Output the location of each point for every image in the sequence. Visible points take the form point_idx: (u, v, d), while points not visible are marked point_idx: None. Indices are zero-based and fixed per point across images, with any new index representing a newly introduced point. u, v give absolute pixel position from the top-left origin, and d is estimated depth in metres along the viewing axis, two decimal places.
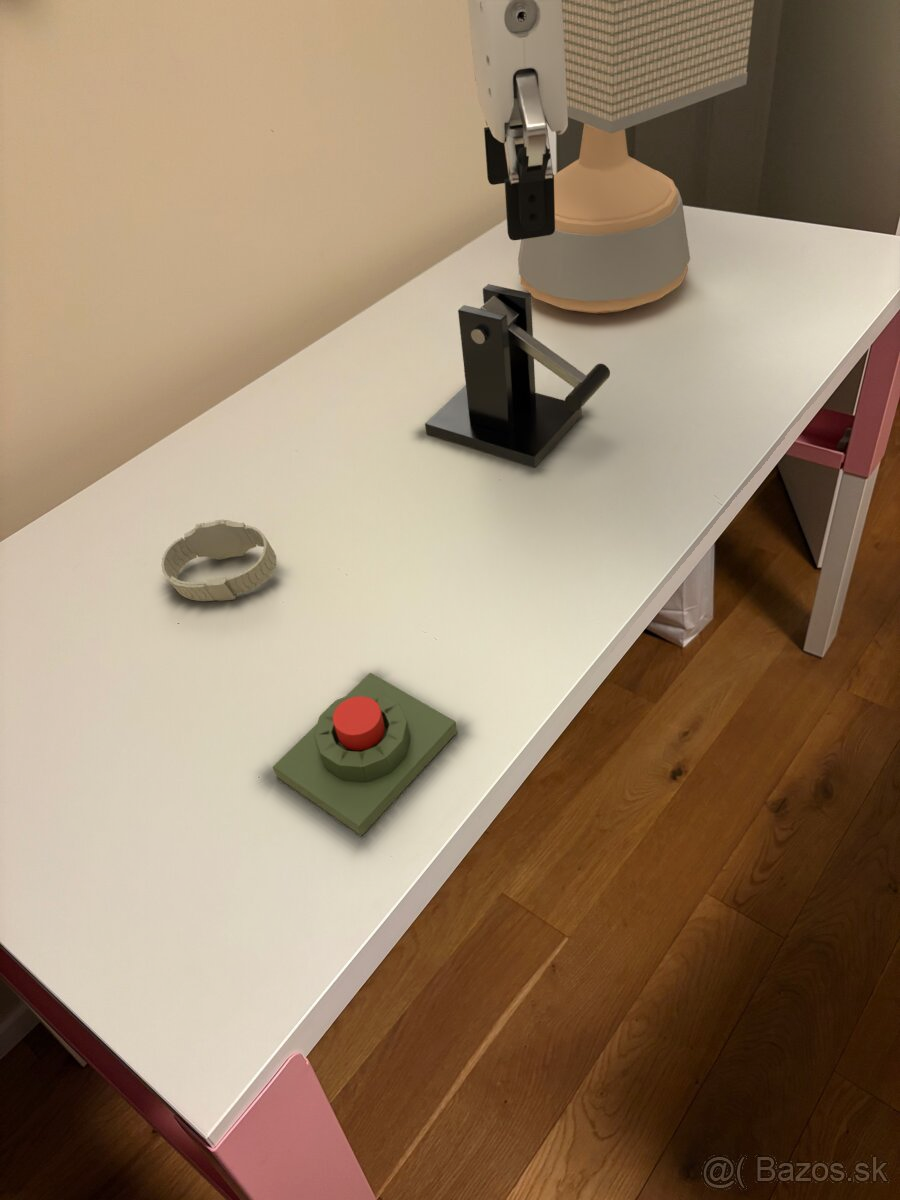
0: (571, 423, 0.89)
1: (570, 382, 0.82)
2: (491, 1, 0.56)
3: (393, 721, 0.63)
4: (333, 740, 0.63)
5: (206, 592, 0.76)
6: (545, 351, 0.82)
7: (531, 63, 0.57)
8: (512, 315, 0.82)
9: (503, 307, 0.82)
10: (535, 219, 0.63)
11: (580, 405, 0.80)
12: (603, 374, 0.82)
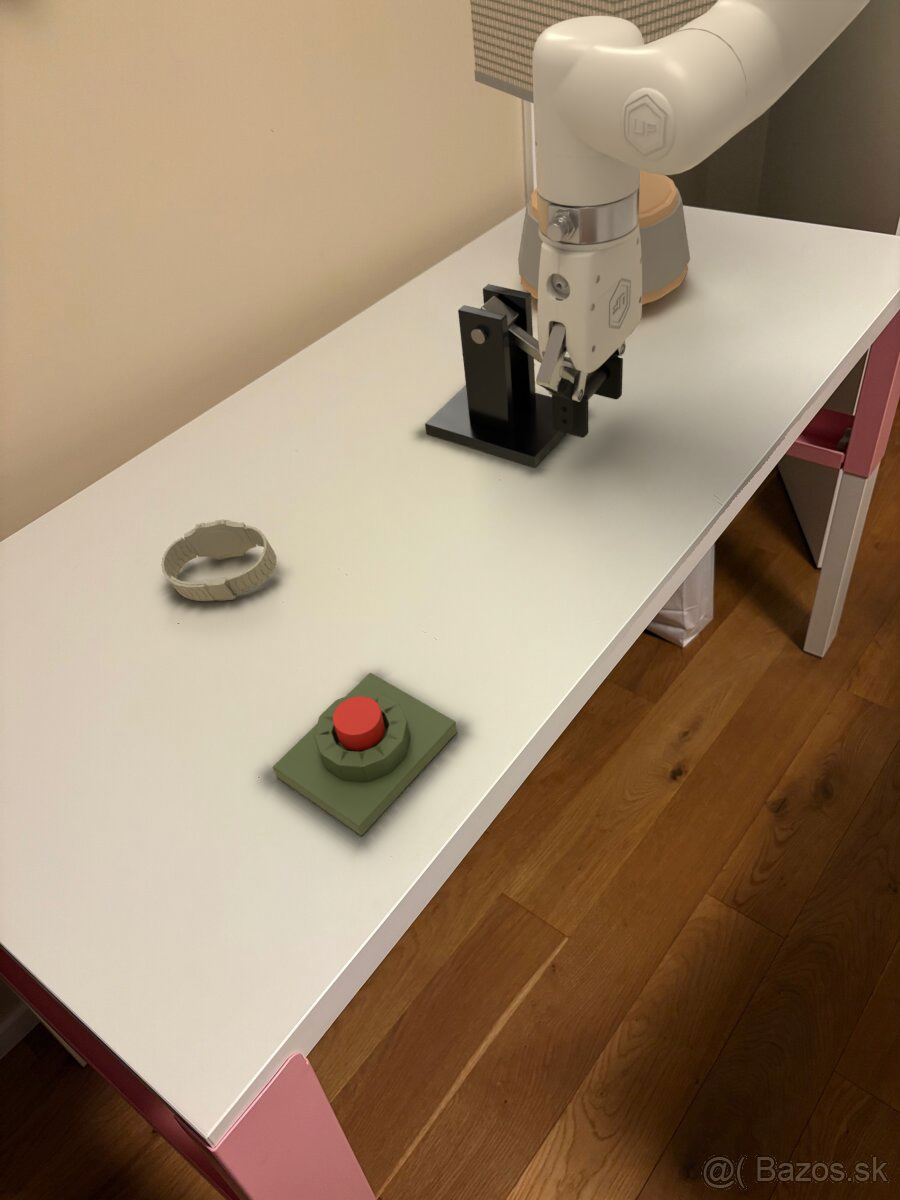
0: None
1: None
2: (540, 269, 0.72)
3: (393, 721, 0.63)
4: (333, 740, 0.63)
5: (206, 592, 0.76)
6: None
7: (561, 320, 0.73)
8: (512, 315, 0.82)
9: (503, 307, 0.82)
10: (566, 423, 0.81)
11: None
12: (603, 374, 0.82)
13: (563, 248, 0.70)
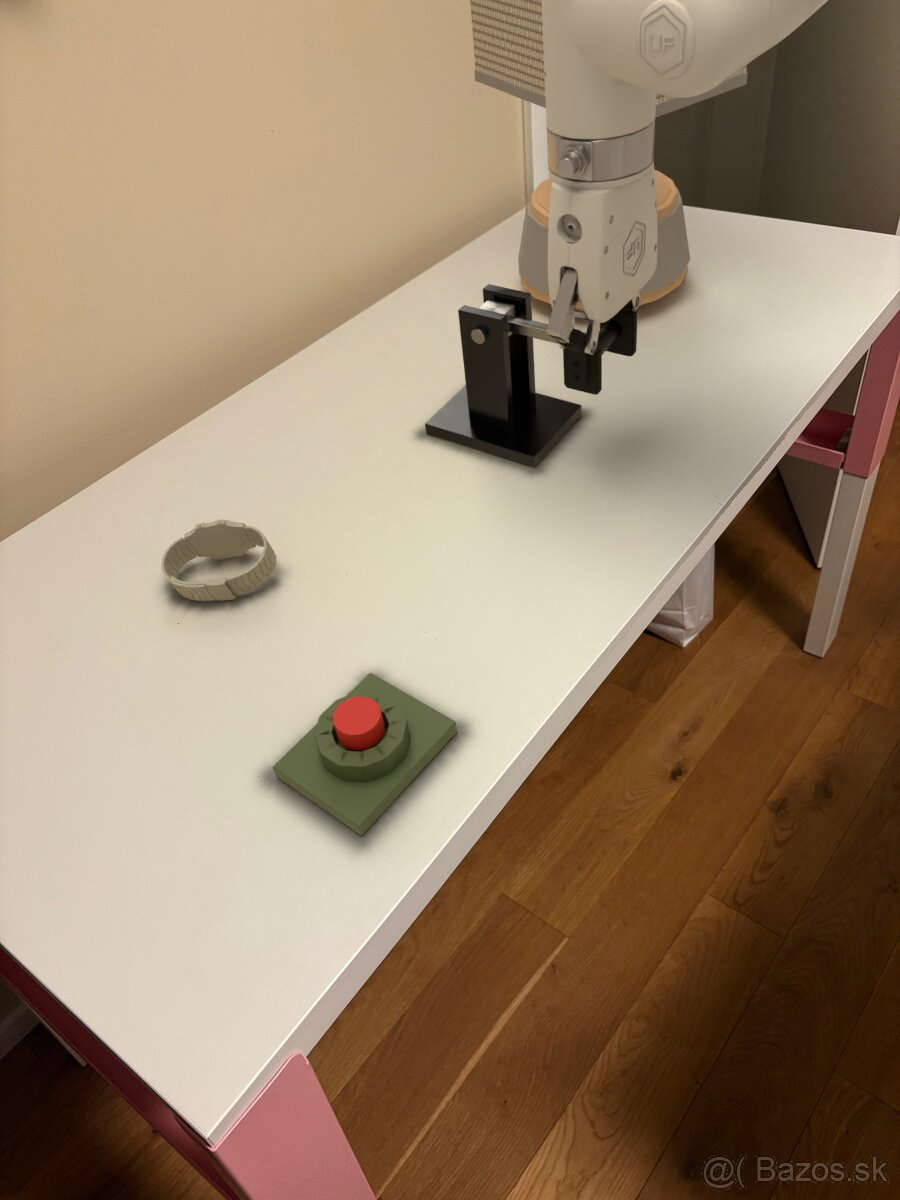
0: (571, 423, 0.89)
1: None
2: (550, 210, 0.68)
3: (393, 721, 0.63)
4: (333, 740, 0.63)
5: (206, 592, 0.76)
6: None
7: (573, 264, 0.69)
8: (508, 308, 0.82)
9: (498, 304, 0.82)
10: (578, 379, 0.77)
11: None
12: (612, 328, 0.79)
13: (575, 186, 0.66)
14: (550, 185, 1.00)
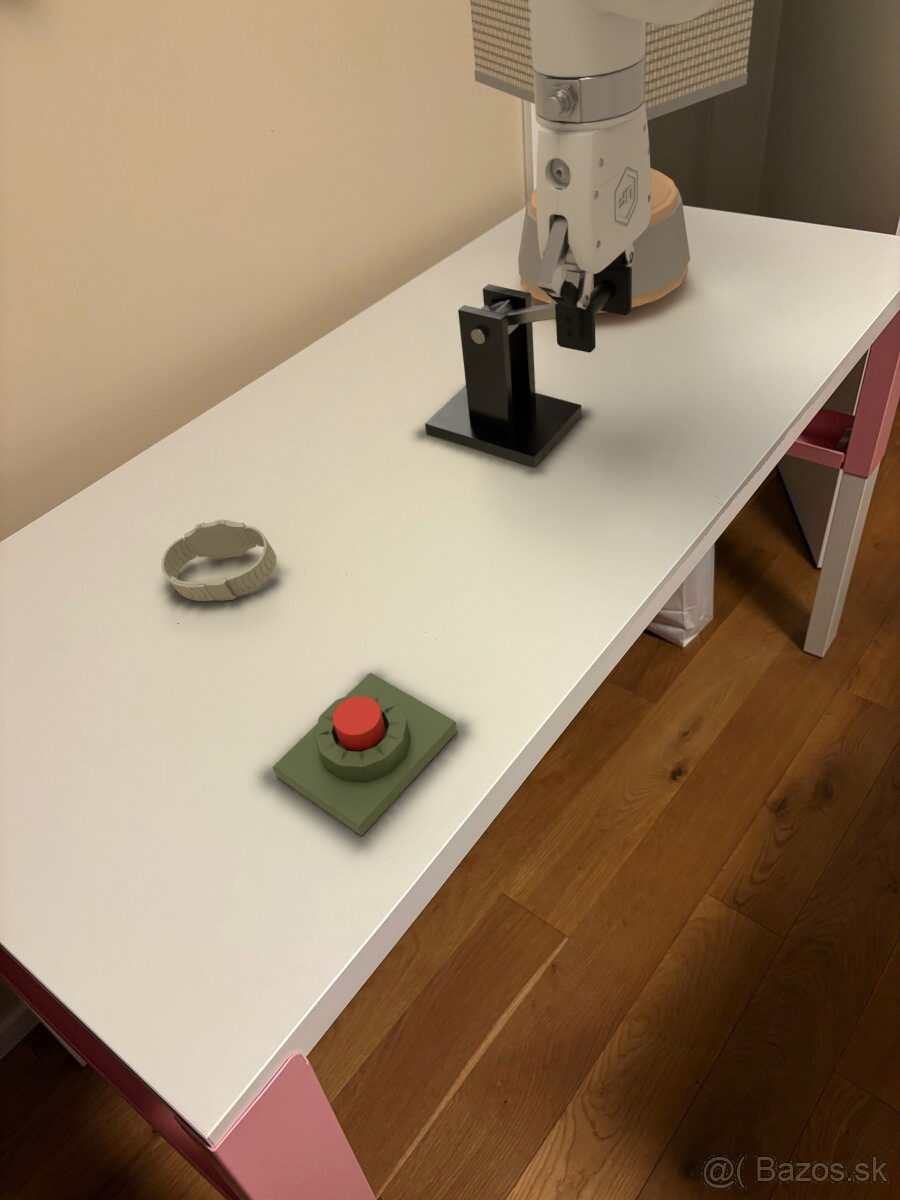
0: (571, 423, 0.89)
1: None
2: (538, 156, 0.66)
3: (393, 721, 0.63)
4: (333, 740, 0.63)
5: (206, 592, 0.76)
6: (541, 307, 0.79)
7: (563, 212, 0.67)
8: (503, 303, 0.82)
9: (494, 304, 0.83)
10: (571, 336, 0.74)
11: None
12: (603, 286, 0.77)
13: (562, 129, 0.64)
14: None
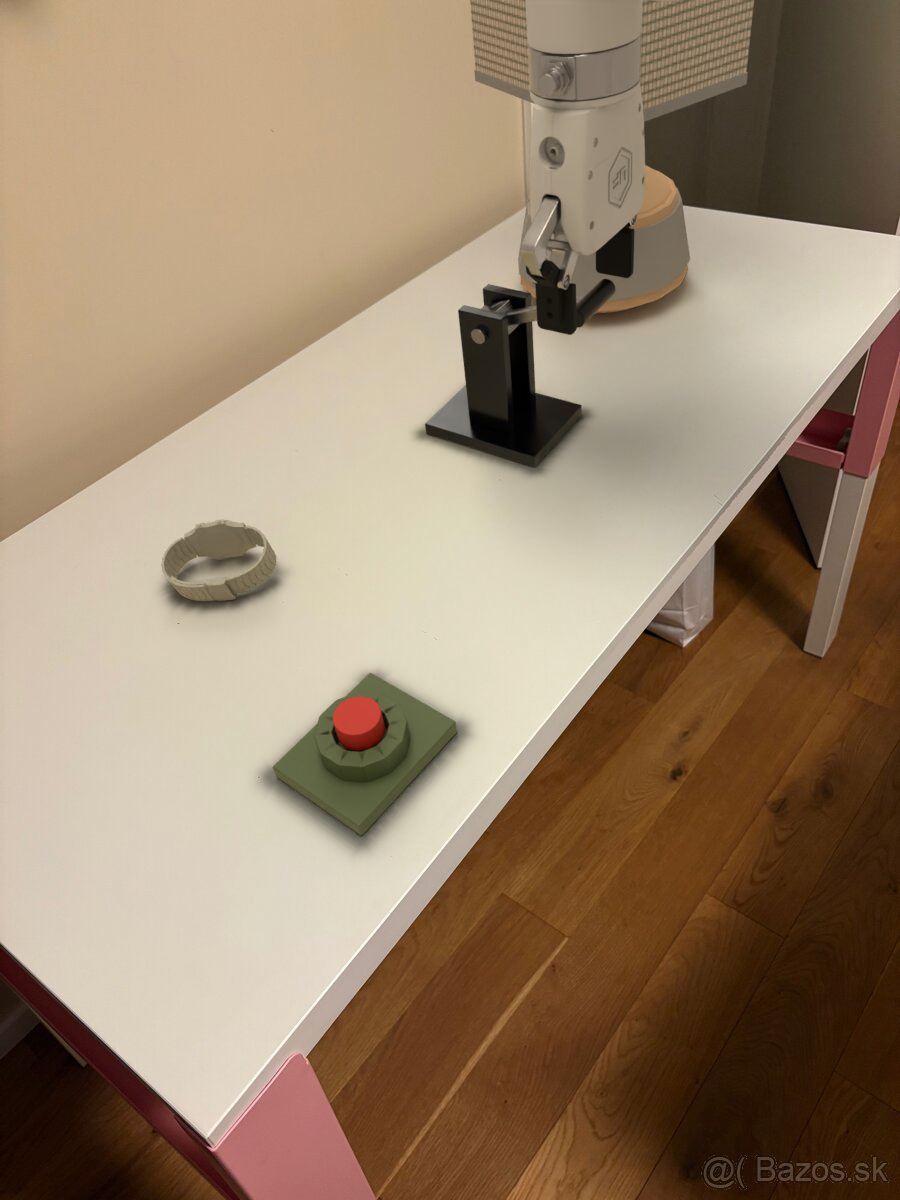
0: (571, 423, 0.89)
1: None
2: (532, 134, 0.65)
3: (393, 721, 0.63)
4: (333, 740, 0.63)
5: (206, 592, 0.76)
6: None
7: (556, 192, 0.66)
8: (502, 303, 0.82)
9: (494, 304, 0.83)
10: (552, 318, 0.72)
11: (581, 313, 0.74)
12: (602, 284, 0.77)
13: (557, 107, 0.63)
14: None
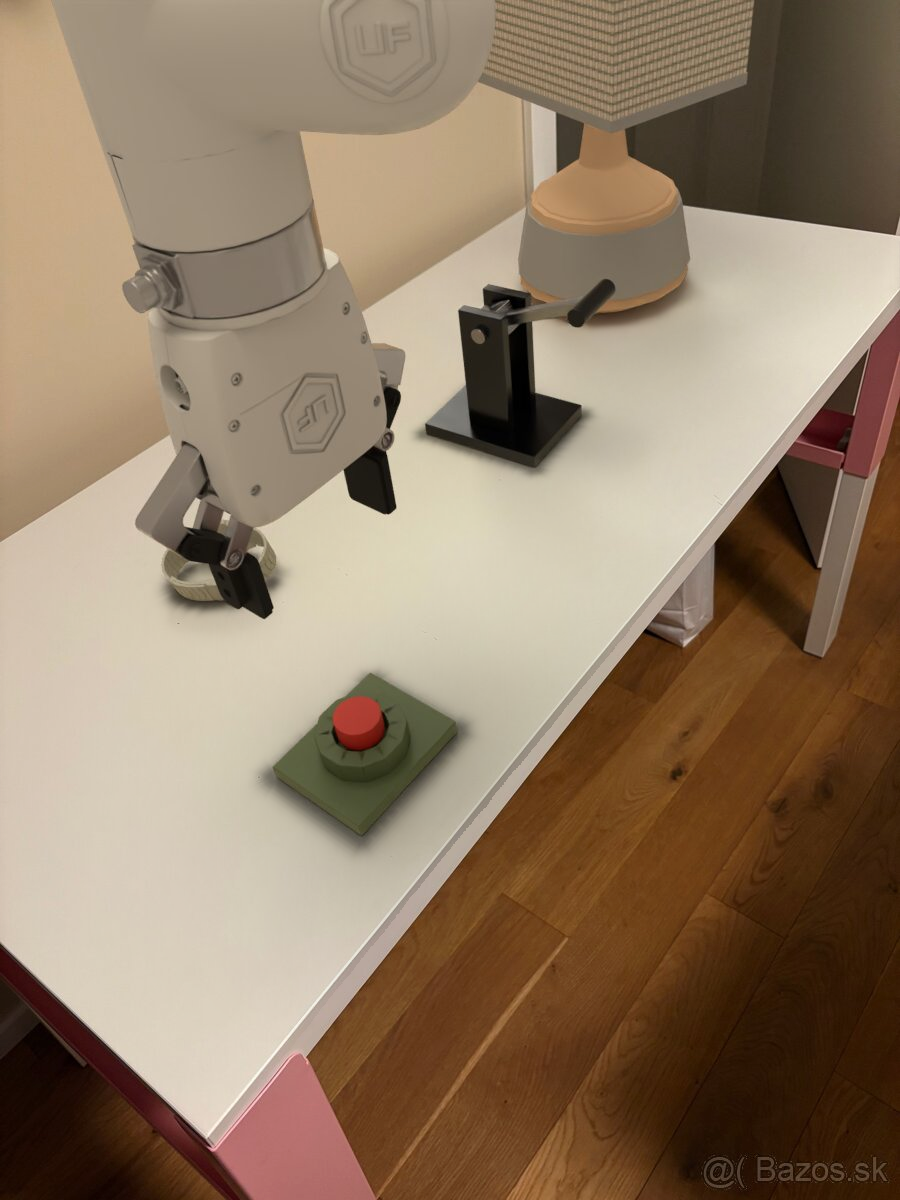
0: (571, 423, 0.89)
1: None
2: (152, 354, 0.41)
3: (393, 721, 0.63)
4: (333, 740, 0.63)
5: (206, 592, 0.76)
6: (541, 306, 0.79)
7: (193, 441, 0.42)
8: (502, 303, 0.82)
9: (494, 304, 0.83)
10: (231, 597, 0.48)
11: (581, 313, 0.74)
12: (602, 284, 0.77)
13: (174, 322, 0.39)
14: (550, 185, 1.00)
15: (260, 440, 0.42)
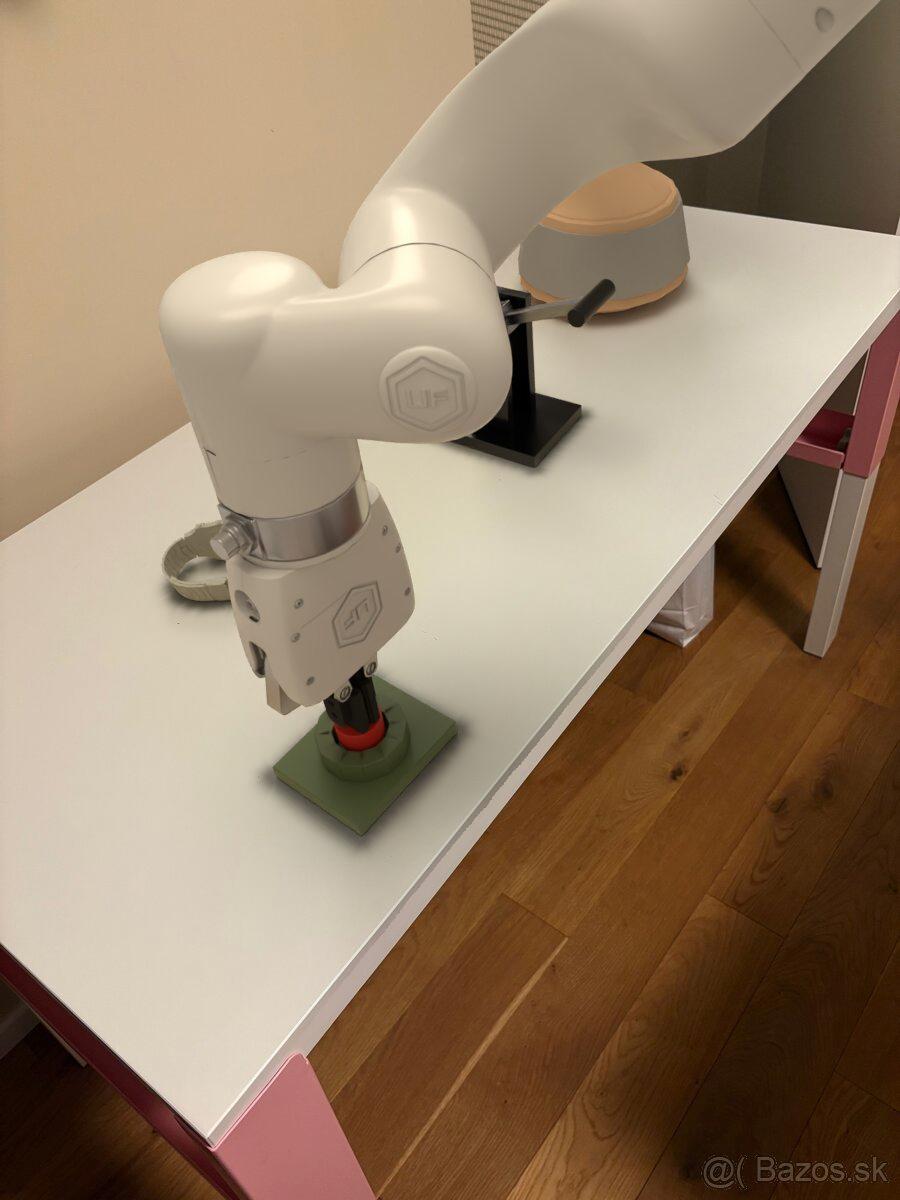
0: (571, 423, 0.89)
1: None
2: (227, 577, 0.50)
3: (393, 721, 0.63)
4: (333, 740, 0.63)
5: (206, 592, 0.76)
6: (541, 306, 0.79)
7: (260, 644, 0.51)
8: (502, 303, 0.82)
9: None
10: (337, 718, 0.60)
11: (581, 313, 0.74)
12: (602, 284, 0.77)
13: (248, 559, 0.48)
14: None
15: (315, 644, 0.51)
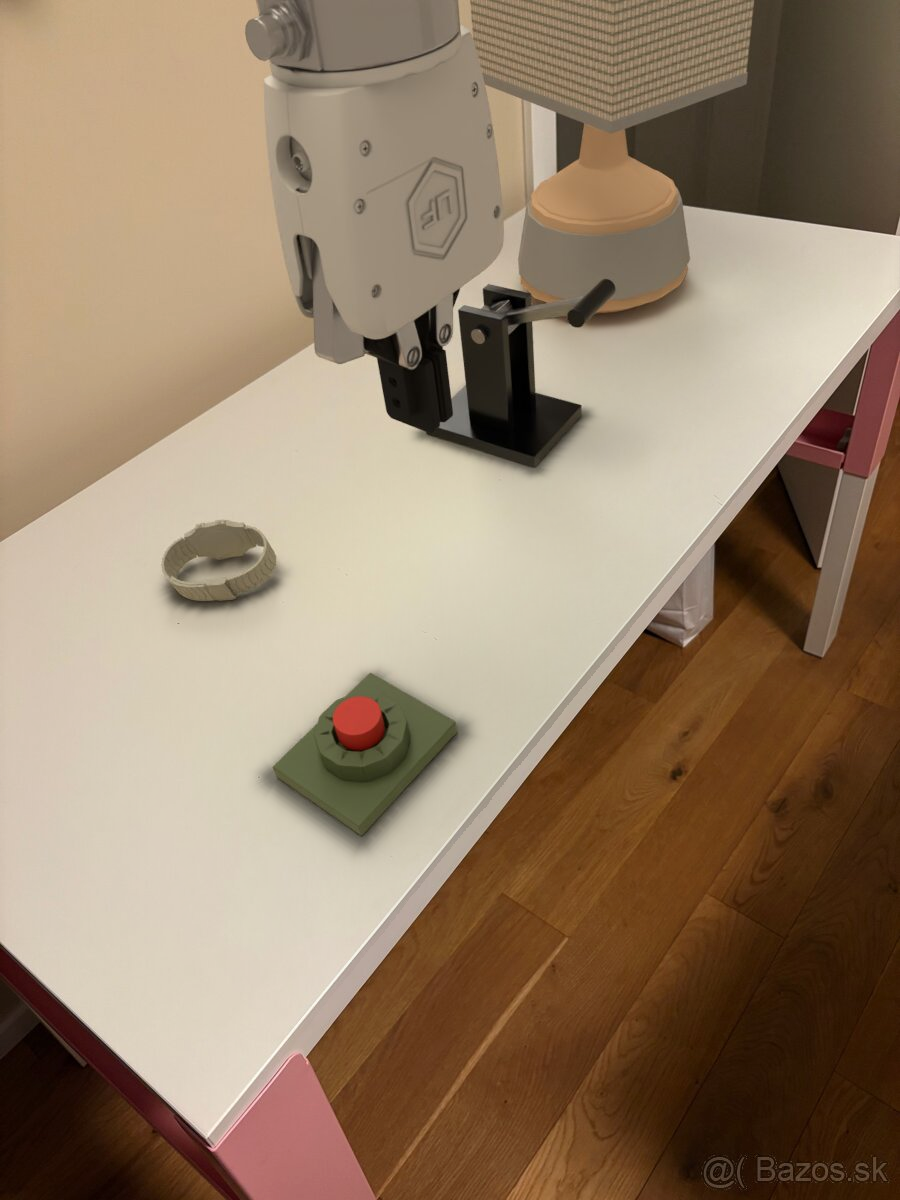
0: (571, 423, 0.89)
1: None
2: (266, 129, 0.37)
3: (393, 721, 0.63)
4: (333, 740, 0.63)
5: (206, 592, 0.76)
6: (541, 306, 0.79)
7: (310, 232, 0.38)
8: (502, 303, 0.82)
9: (494, 304, 0.83)
10: (400, 407, 0.47)
11: (581, 313, 0.74)
12: (602, 284, 0.77)
13: (297, 82, 0.35)
14: (550, 185, 1.00)
15: (384, 229, 0.38)
